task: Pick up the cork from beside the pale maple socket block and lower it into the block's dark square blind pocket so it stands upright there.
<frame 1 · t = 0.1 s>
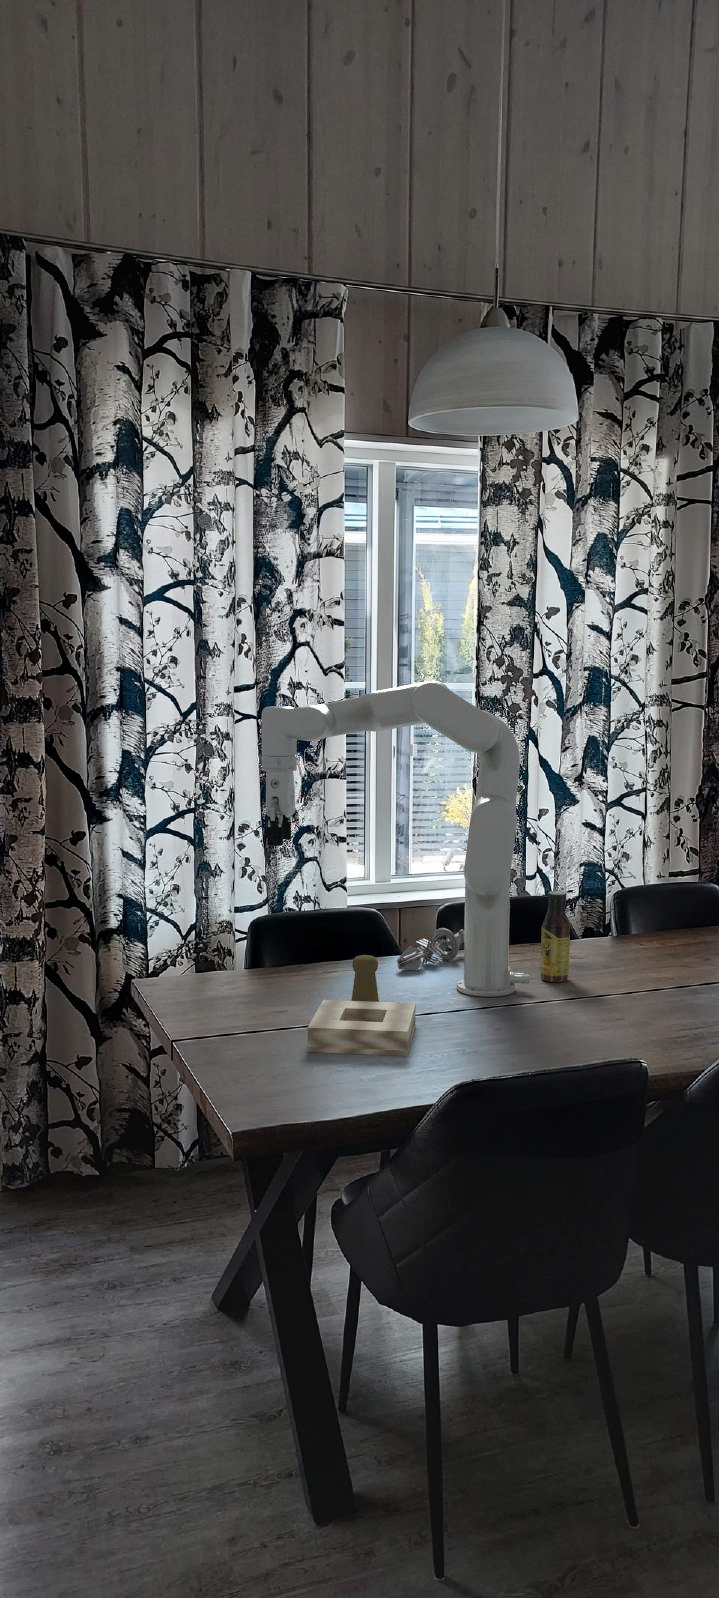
hand: (279, 842, 252), 31 cm above the table, fingers open, 9 cm apart
spaceship: (445, 961, 276), on the table
cork: (365, 1010, 235), on the table
sauce bottle: (554, 981, 258), on the table
socket block: (363, 1038, 216), on the table
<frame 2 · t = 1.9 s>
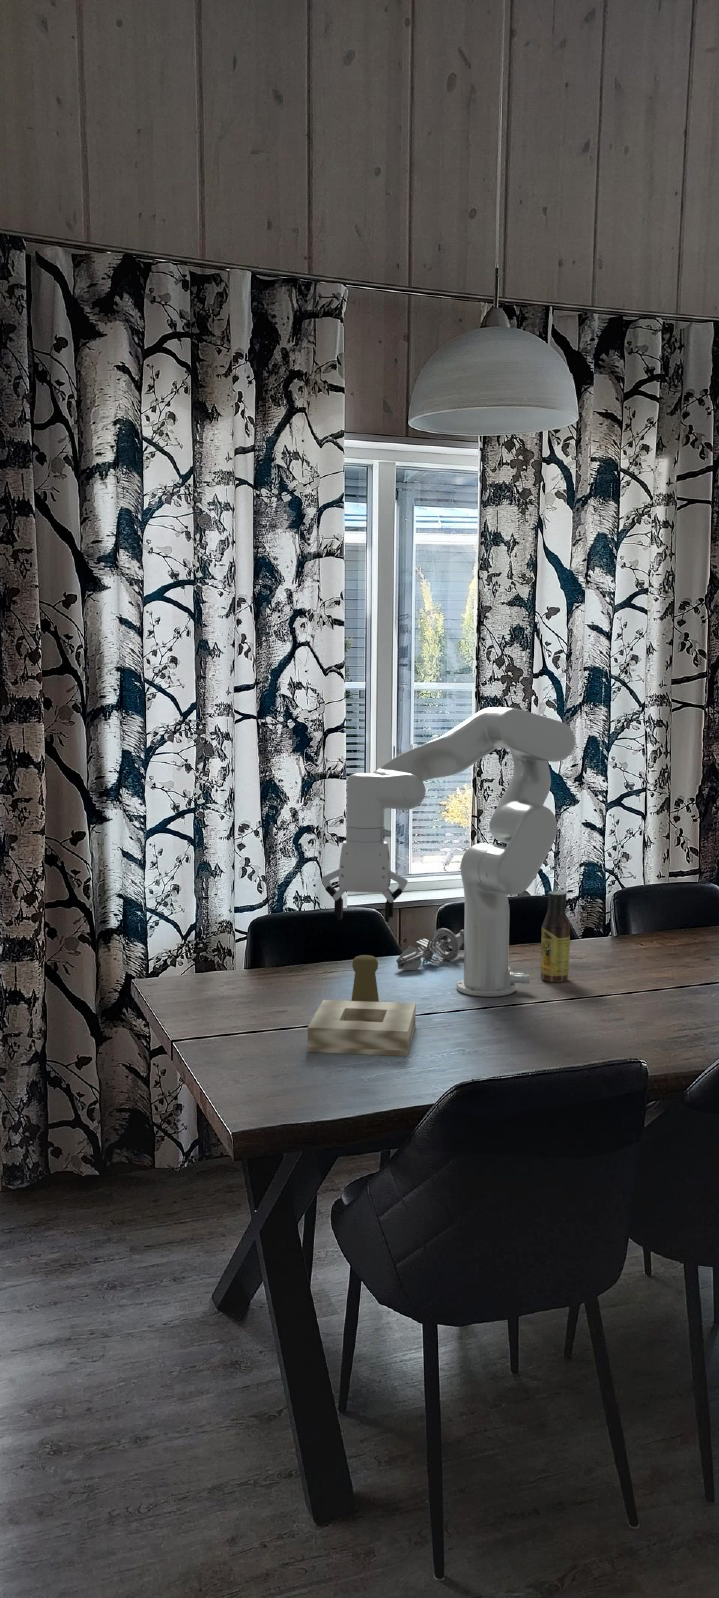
hand: (363, 920, 233), 18 cm above the table, fingers open, 9 cm apart
nothing on the table moved.
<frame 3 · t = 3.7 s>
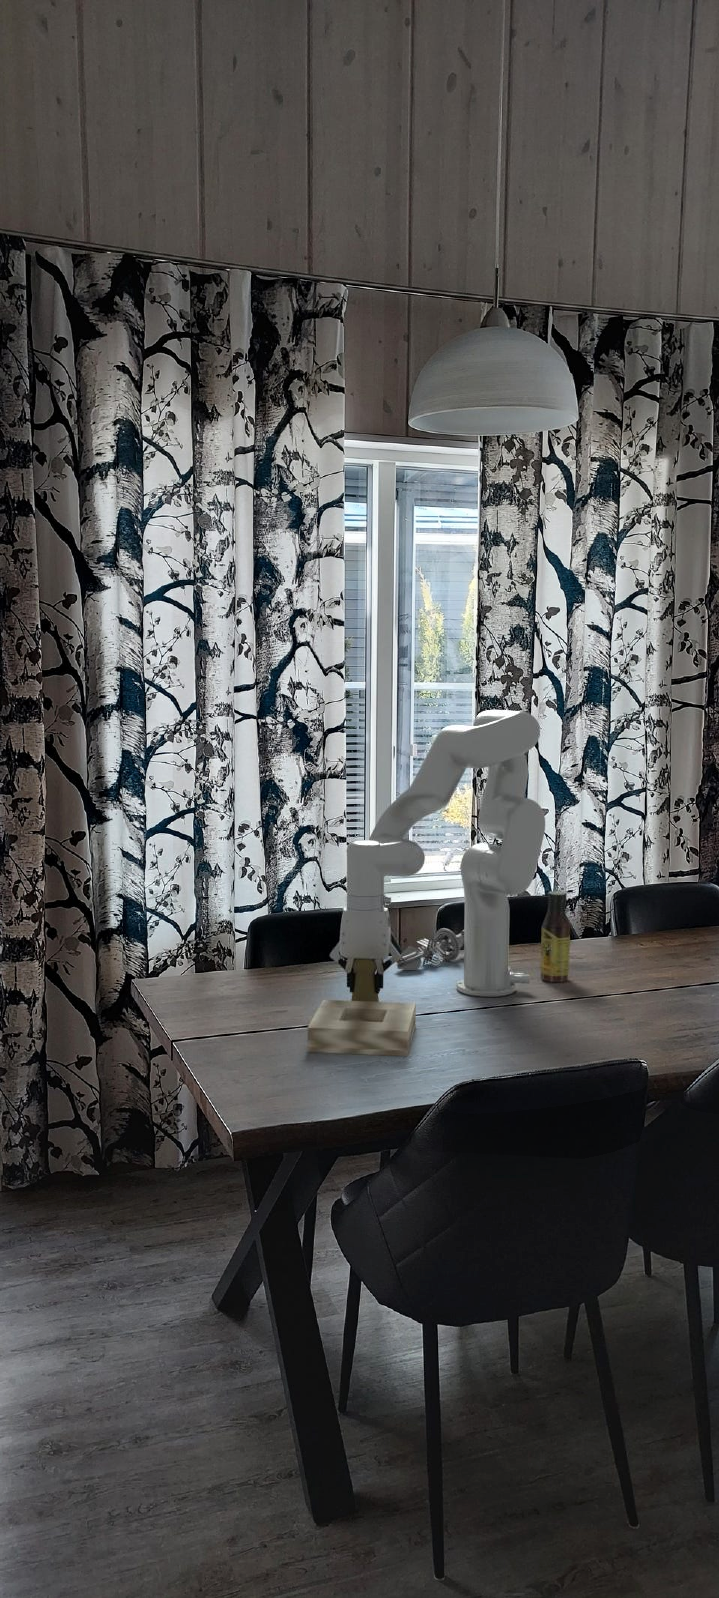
hand: (365, 990, 235), 4 cm above the table, fingers closed on cork, 4 cm apart
cork: (365, 1010, 235), on the table, touching gripper
everything else where it was.
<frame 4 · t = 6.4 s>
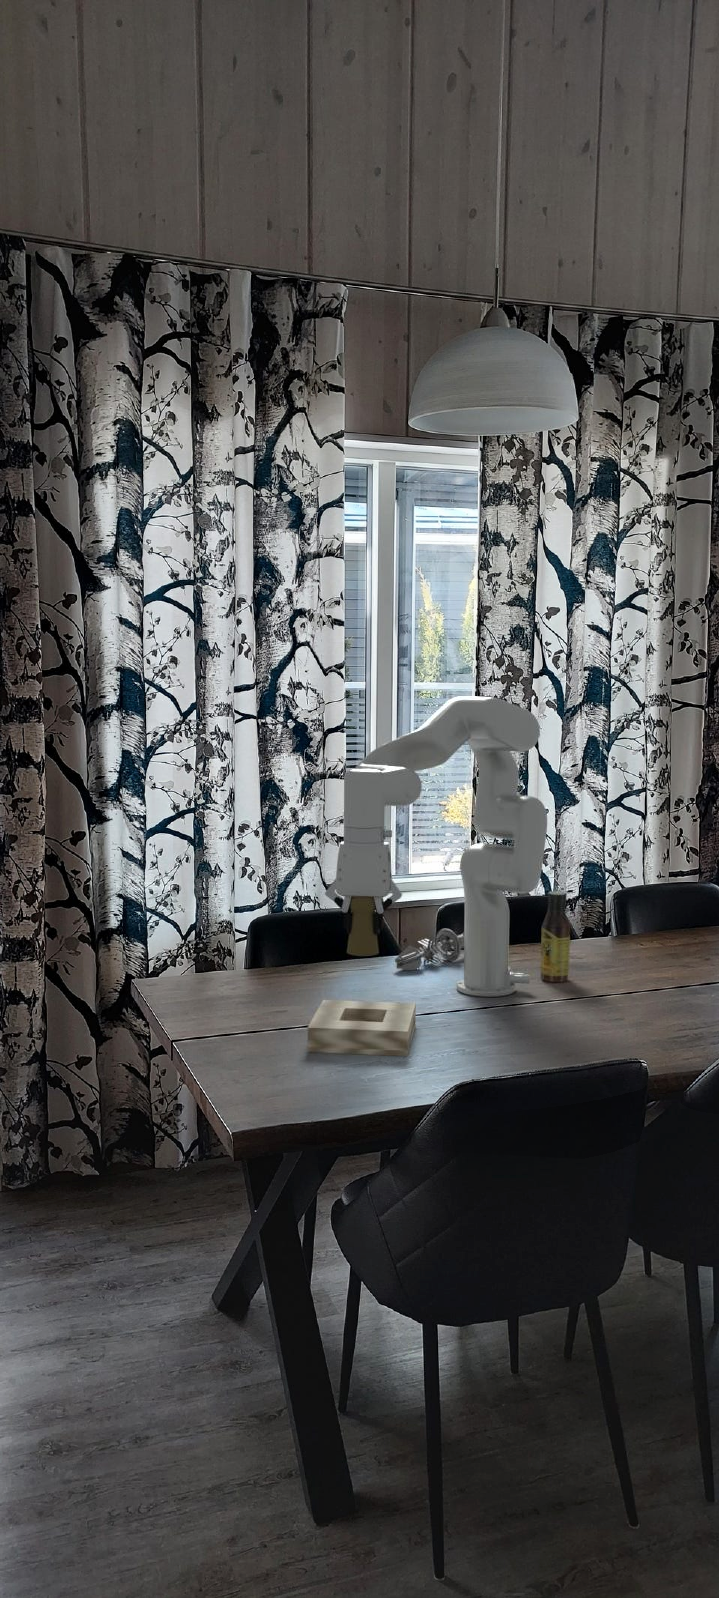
hand: (363, 931, 217), 20 cm above the table, fingers closed on cork, 4 cm apart
cork: (362, 953, 217), point 16 cm above the table, touching gripper
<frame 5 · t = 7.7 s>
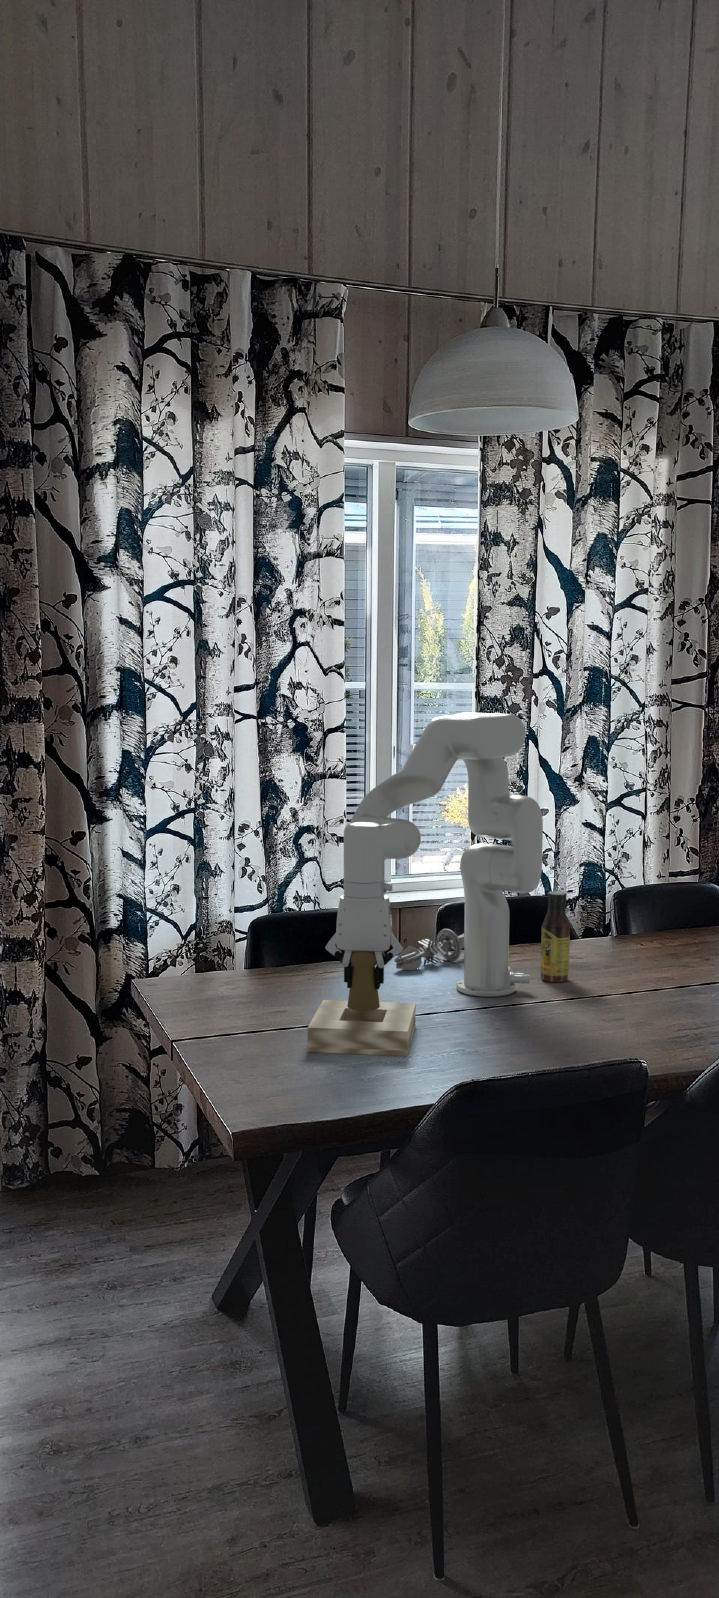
hand: (363, 985, 215), 10 cm above the table, fingers closed on cork, 4 cm apart
cork: (363, 1007, 216), point 6 cm above the table, touching gripper
when the fingers open (6 cm above the table, at t = 8.9 s): cork stays where it is, resting on socket block.
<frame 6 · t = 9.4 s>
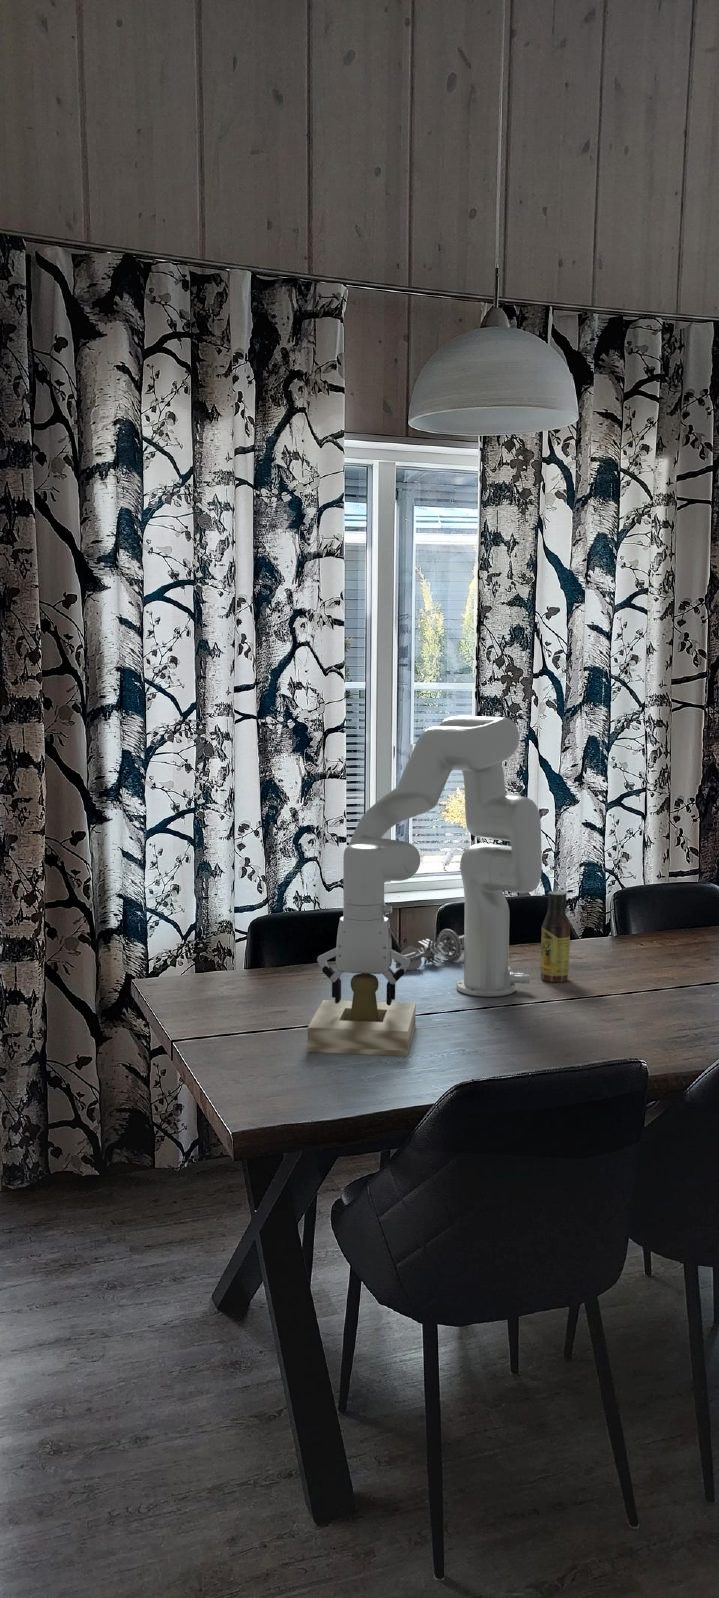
hand: (363, 1002, 216), 7 cm above the table, fingers open, 9 cm apart
cork: (364, 1033, 216), point 1 cm above the table, touching socket block
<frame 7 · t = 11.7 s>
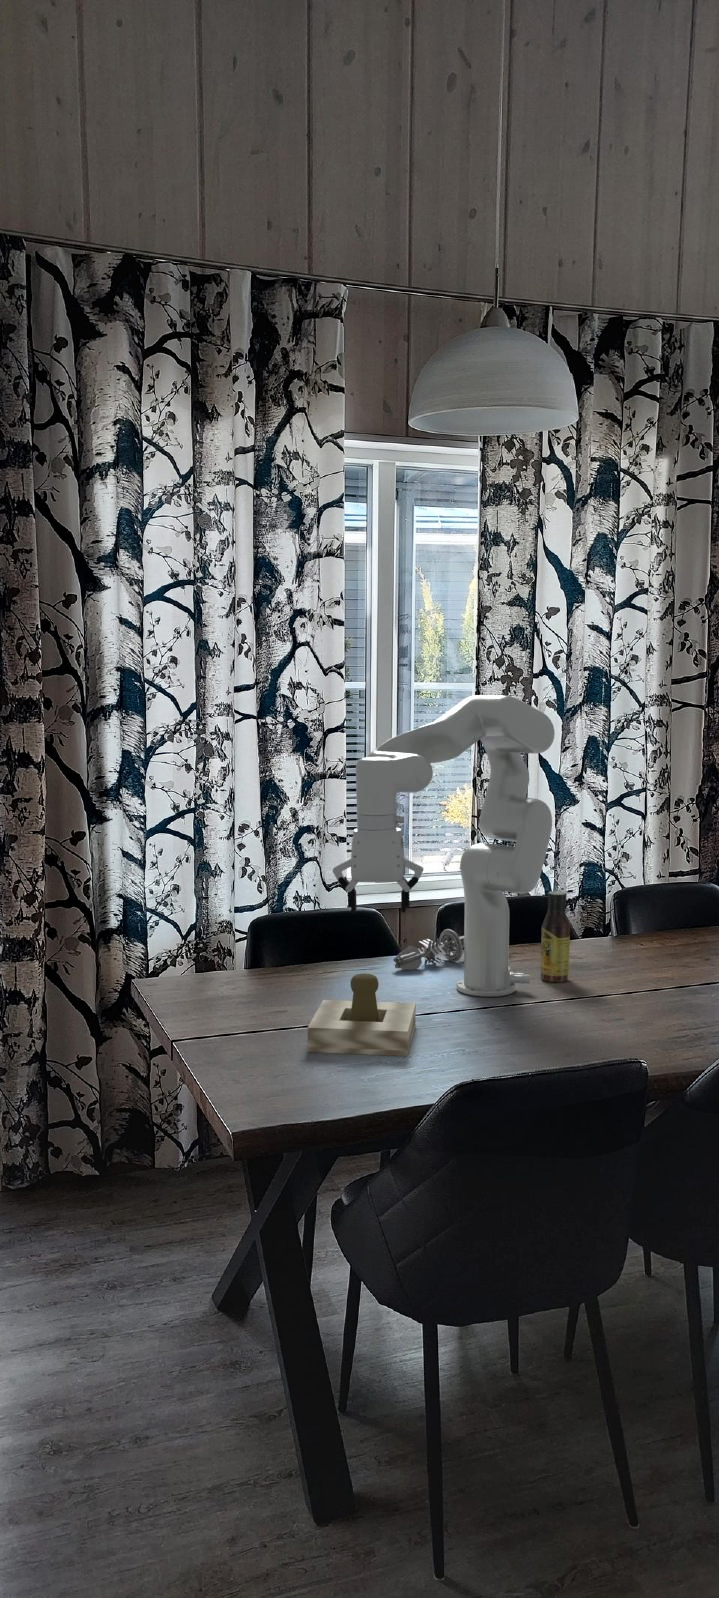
hand: (378, 911, 222), 22 cm above the table, fingers open, 9 cm apart
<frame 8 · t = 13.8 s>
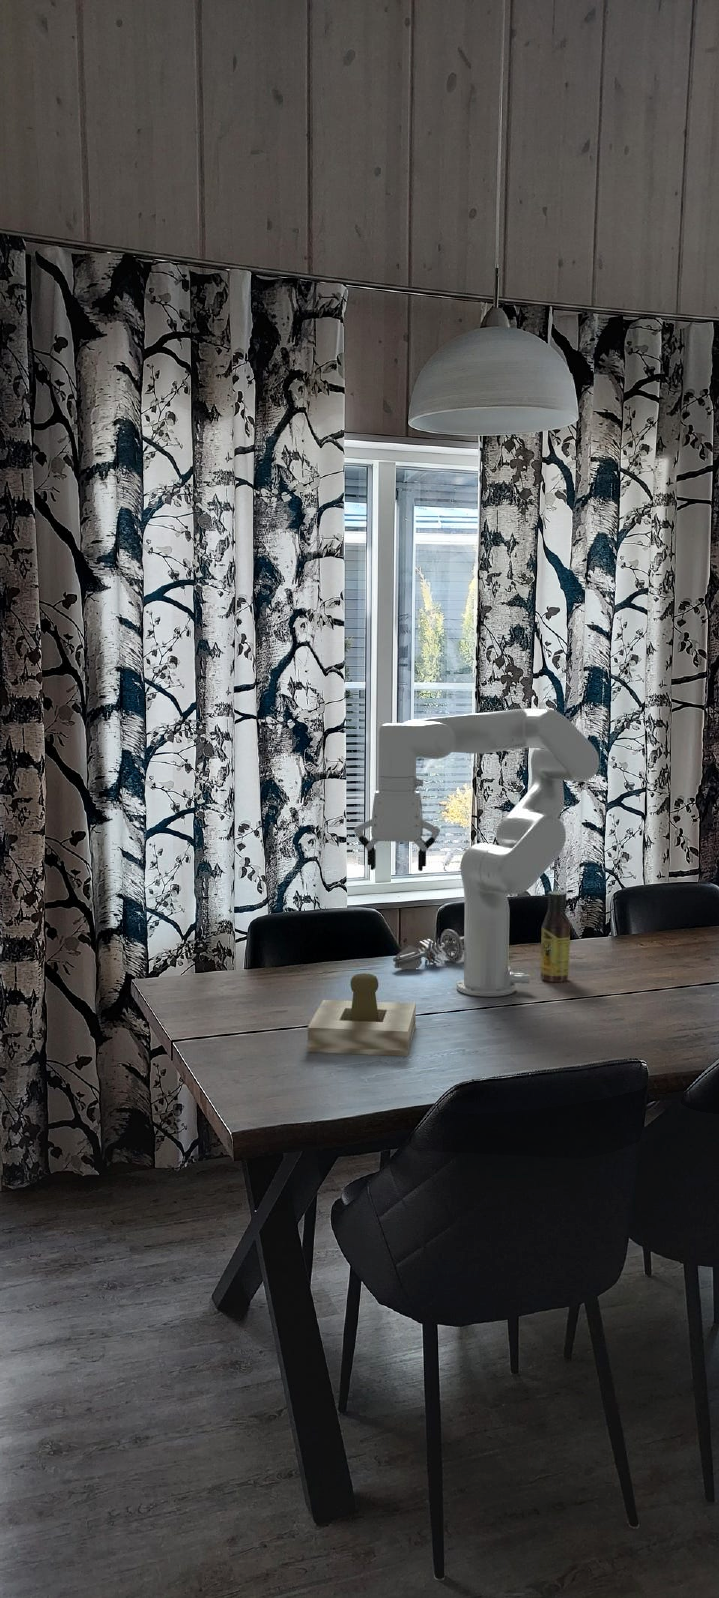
hand: (396, 869, 235), 28 cm above the table, fingers open, 9 cm apart
at the end: cork 0.2 cm off-centre on the socket block, point 0.9 cm above the socket block's base; cork tilted 0°; the gripper is holding nothing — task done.
